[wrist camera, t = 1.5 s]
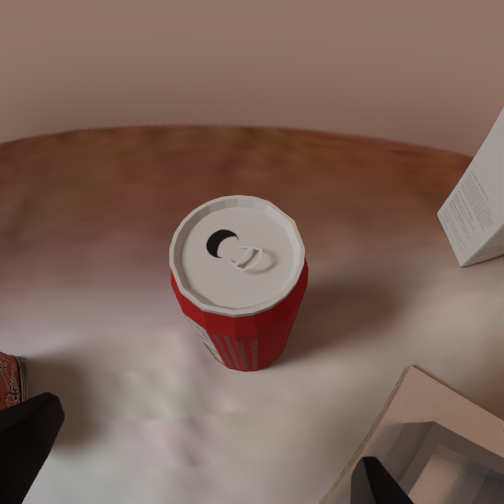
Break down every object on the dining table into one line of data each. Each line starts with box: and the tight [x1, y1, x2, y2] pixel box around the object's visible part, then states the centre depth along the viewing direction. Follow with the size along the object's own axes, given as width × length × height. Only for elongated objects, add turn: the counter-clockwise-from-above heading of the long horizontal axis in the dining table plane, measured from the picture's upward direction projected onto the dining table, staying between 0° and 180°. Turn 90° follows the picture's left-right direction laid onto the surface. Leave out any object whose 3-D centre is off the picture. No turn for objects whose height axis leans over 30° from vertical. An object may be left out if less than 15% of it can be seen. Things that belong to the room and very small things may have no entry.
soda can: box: [170, 195, 308, 372], centre depth 17 cm, size 6×6×12 cm
